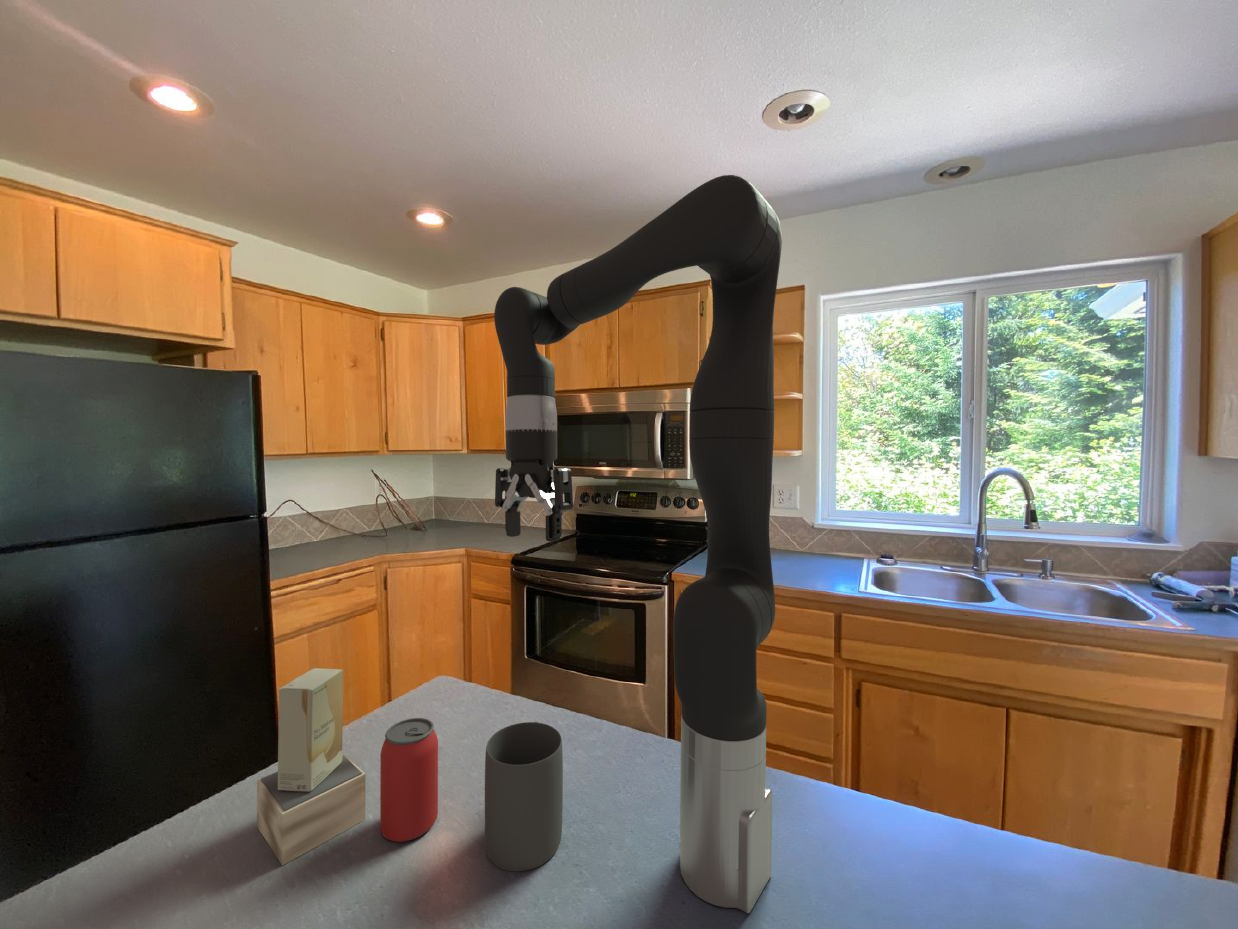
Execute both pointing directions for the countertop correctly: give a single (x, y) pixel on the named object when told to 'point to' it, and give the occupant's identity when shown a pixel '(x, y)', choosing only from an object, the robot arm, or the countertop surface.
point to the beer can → (408, 780)
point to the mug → (523, 795)
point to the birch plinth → (310, 810)
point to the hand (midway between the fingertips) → (532, 538)
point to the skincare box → (310, 729)
